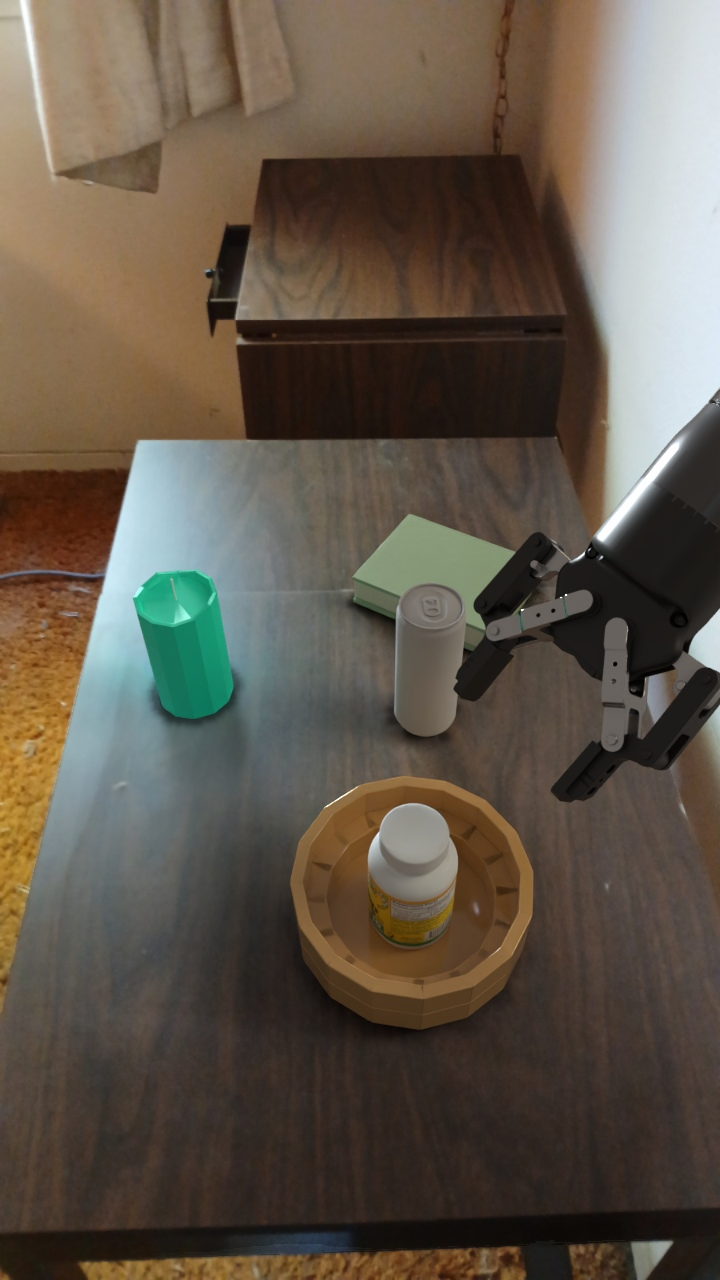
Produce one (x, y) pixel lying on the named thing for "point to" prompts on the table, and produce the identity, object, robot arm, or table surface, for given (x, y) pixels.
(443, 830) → the supplement bottle
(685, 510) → the robot arm
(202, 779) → the table surface
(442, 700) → the beverage can
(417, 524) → the book
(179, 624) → the candle
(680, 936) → the table surface
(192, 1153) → the table surface
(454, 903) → the bowl
